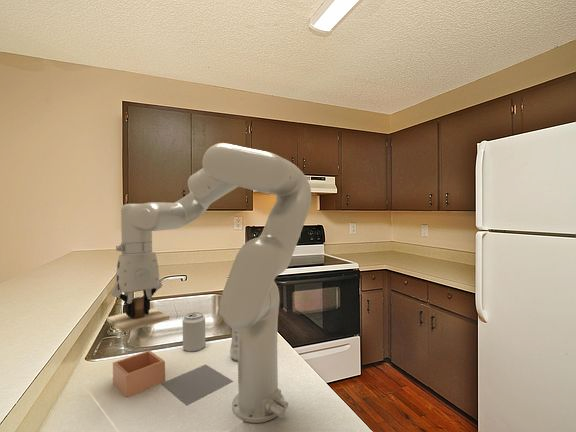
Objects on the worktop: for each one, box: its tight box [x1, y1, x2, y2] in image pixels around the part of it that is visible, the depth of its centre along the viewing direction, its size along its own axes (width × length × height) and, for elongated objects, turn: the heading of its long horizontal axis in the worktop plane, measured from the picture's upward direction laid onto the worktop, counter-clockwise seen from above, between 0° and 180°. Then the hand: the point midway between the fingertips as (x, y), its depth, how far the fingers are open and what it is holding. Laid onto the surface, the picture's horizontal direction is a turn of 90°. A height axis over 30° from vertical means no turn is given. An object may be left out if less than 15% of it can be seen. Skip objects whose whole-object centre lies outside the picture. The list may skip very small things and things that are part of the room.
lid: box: [106, 296, 170, 333], centre depth 84 cm, size 12×12×6 cm
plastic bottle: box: [229, 328, 238, 362], centre depth 97 cm, size 6×7×20 cm
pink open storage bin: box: [112, 350, 166, 398], centre depth 84 cm, size 10×10×6 cm
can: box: [182, 311, 206, 352], centre depth 105 cm, size 8×8×12 cm
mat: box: [160, 364, 234, 406], centre depth 83 cm, size 14×14×1 cm
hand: (138, 314), depth 84 cm, fingers closed on lid, 3 cm apart
